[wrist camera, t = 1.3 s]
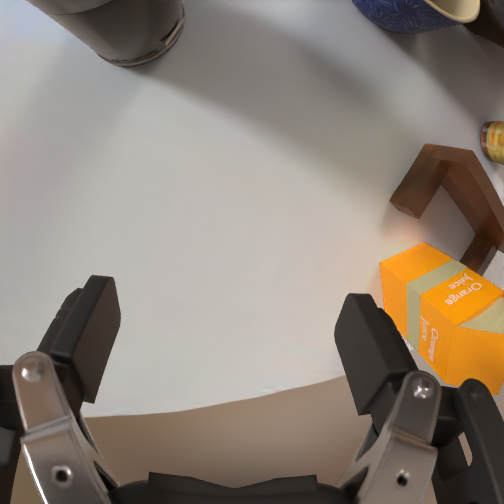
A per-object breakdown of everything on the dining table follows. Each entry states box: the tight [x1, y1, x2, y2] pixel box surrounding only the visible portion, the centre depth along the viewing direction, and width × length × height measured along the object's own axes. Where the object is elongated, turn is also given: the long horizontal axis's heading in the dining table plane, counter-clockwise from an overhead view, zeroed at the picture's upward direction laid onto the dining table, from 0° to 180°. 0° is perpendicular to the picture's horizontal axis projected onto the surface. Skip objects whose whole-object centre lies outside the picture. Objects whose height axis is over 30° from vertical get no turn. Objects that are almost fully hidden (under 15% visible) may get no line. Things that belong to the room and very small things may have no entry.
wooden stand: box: [389, 144, 504, 276], centre depth 31 cm, size 9×20×8 cm, turn 55°
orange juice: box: [380, 242, 504, 395], centre depth 28 cm, size 8×9×20 cm
